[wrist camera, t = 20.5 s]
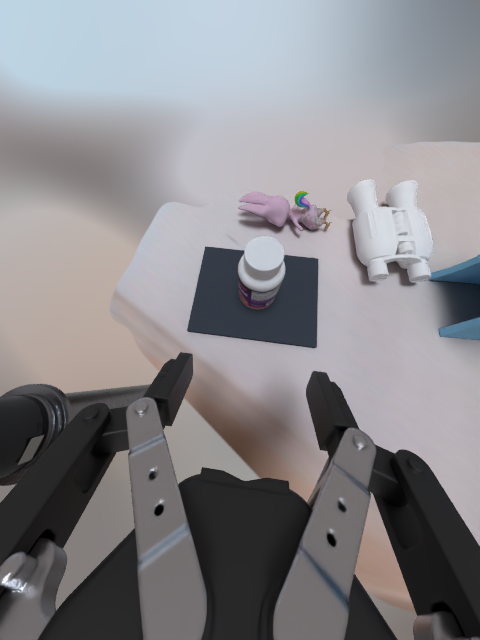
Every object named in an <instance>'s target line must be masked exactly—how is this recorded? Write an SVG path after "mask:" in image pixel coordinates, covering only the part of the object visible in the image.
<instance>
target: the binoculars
mask: <svg viewBox="0 0 480 640" xmlns="http://www.w3.org/2000/svg"><path fill="white" fill-rule="evenodd" d="M375 190H376V184H375V182H374V181H373V180H370V179H368V180H363V181H361V182H359V183H357V184H356V185H354V186H353V187H352V188H351V189H350V191H349V193H348V195H347V200H348V202H349V203H350V204H351V206H352V208H353V211H354V213H355V215H356V218H355V219H354V221H353V223H352V226H353V232H354V239H355V245H356V251H357V257H358V259H359V260H360V262H361V263H362V264H364V265H365V266H366V267H368V269H367V272H368V276H369V280H370V281H380V280H383V279H386V278H387V277H388V276H389V274H388V270H387V264H386V263H389V262H393V261H397V263H398V264H399V265H400V266H401V268H404V269H408V270H407V273H408V276H409V281H410V282H412V283H416V282H422V281H425V280H427V279H429V278H431V272H430V269H429V265H428V264H427V261H428V260H429V259H430V257H431V255H432V253H433V247H434V245H433V242H432V240H433V239H432V235H431V232H430V229H429V225H428V222H427V219H426V215H425V214H424V212H423V210H421V209H419V208H417V195H416V193H417V190H418V185H417V183H416V182H415V181H413V180H407V181H403V182H401V183H399V184H397V185H395V186H394V187H392V188H391V189H390V190H389V191H388V193H387V195H386V202H387V204H388V205H389V207H378V204H377V199H376V193H375Z"/></svg>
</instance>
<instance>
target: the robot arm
mask: <svg viewBox="0 0 480 640" xmlns="http://www.w3.org/2000/svg"><path fill="white" fill-rule="evenodd" d="M192 376H193V356H192V354H189V353H182V352H181V353H180V354H179V355H178V357H177V359H176V360H175V359H171V360H169V361H168V362H167V363H165V364H164V366H163V367H162V369H161V371H160V372H159V373H158V375H157V377H156V378H155V379H154V381H153V382H152V384H151V385H150V387H149V388H148V390H147V391H146V393H145V395H144V396H143V397H142V398H140V399H137V400H135V401H134V402H133V403H131V404H130V406H127V407H122V408H115V409H109V408H108V406H107V405H106V404H103V403H96V404H92V405H89V406H87V407H86V408H84V409H82V410H81V411H80V412H79V413H78V414H77V415H76V416H75V417H74V418H73V420H72V421H71V422H70V423H69V424H68V425H67V427H66V428H65V429H64V430H63V431H62V432H61V433H60V435H59V436H58V437H57V438H56V439H55V440H54V442H53V443H52V444H51V445H50V446H49V447H48V445H49V443H50V441H51V439H52V436H53V433H54V428H55V415H54V411H53V408H52V406H51V405H50V403H49V402H48V401H47V400H46V399H45V398H43V397H41V396H39V395H36V394H22V395H16V396H9V397H0V479H1V478H4V477H6V476H9V475H12V474H15V473H17V472H20V471H22V470H24V469H26V468H28V467H29V466H31V465H32V464H33V463H34V462H35V464H34V465H33V466H32V467H31V468H30V469H29V471H28V472H27V473H26V474H25V475H24V476H23V477H22V479H21V480H20V481H19V482H18V483H17V485H16V486H15V487H14V488H13V489H12V490H11V491H10V493H9V494H8V495H7V496H6V497H5V498H4V500H3V501H2V502H1V503H0V640H397V638H396V637H395V635H394V633H393V632H392V630H391V629H390V628H389V626H388V624H387V623H386V621H385V620H384V618H383V617H382V615H381V614H380V612H379V611H378V609H377V607H376V606H375V605H374V603H373V601H372V600H371V598H370V597H369V595H368V594H367V592H366V591H365V589H364V588H363V586H362V584H361V583H360V581H359V580H358V578H357V577H356V575H355V574H354V571H355V567H356V562H357V558H358V553H359V549H360V544H361V539H362V535H363V530H364V526H365V521H366V517H367V512H368V507H369V503H370V497H371V494H370V492H371V493H373V495H374V498H375V501H376V503H377V506H378V509H379V512H380V514H381V517H382V520H383V523H384V525H385V528H386V531H387V534H388V536H389V539H390V542H391V545H392V547H393V550H394V553H395V556H396V558H397V561H398V564H399V567H400V569H401V572H402V575H403V578H404V581H405V583H406V586H407V589H408V592H409V594H410V597H411V600H412V603H413V605H414V608H415V611H416V614H417V617H416V619H415V621H414V625H413V632H414V633H413V634H414V640H480V546H479V545H478V543H477V542H476V540H475V538H474V537H473V535H472V534H471V532H470V530H469V529H468V527H467V526H466V524H465V523H464V521H463V519H462V518H461V516H460V515H459V513H458V511H457V510H456V508H455V507H454V505H453V503H452V502H451V500H450V499H449V497H448V496H447V494H446V492H445V491H444V489H443V488H442V486H441V484H440V483H439V481H438V480H437V478H436V477H435V475H434V473H433V472H432V470H431V469H430V467H429V466H428V465H427V464H426V463H425V462H424V461H423V460H422V459H421V458H420V457H419V456H417V455H416V454H414V453H412V452H410V451H407V450H399V451H397V452H396V453H395V454H394V453H392V452H390V451H388V450H385V449H383V448H381V447H379V446H377V445H375V444H374V442H373V441H372V440H371V438H370V437H369V436H368V435H367V434H366V433H364V432H363V431H361V430H360V429H359V427H358V425H357V423H356V421H355V419H354V417H353V415H352V412H351V410H350V408H349V406H348V405H347V402H346V400H345V398H344V395H343V393H342V391H341V389H340V388H339V387H338V386H337V385H336V384H335V382H330V380H329V377H328V375H327V373H324V372H317V371H313V372H312V375H311V377H310V380H309V383H308V385H307V388H306V397H307V401H308V405H309V409H310V413H311V417H312V421H313V424H314V428H315V432H316V436H317V440H318V444H319V448H320V450H324V451H328V455H329V457H328V459H327V461H326V463H325V466H324V468H323V470H322V472H321V475H320V477H319V479H318V481H317V483H316V486H315V488H314V490H313V492H312V494H311V496H310V497H309V499H308V501H307V502H306V501H305V500H304V499H303V498H302V497H300V496H299V495H298V494H297V493H295V492H294V491H292V490H290V489H289V482H288V481H284V480H278V479H272V478H263V479H257V480H251V481H243V480H240V479H239V478H236V477H234V476H233V475H231V474H229V473H226V472H225V471H221V470H215V469H210V468H203V467H202V470H201V474H198V475H194V476H191V477H189V478H187V479H185V480H184V481H182V482H181V483H179V484H178V483H177V479H176V475H175V472H174V467H173V464H172V460H171V456H170V452H169V449H168V444H167V441H166V437H165V435H164V431H163V429H164V428H165V425H166V426H172V424H173V421H174V419H175V417H176V414H177V412H178V409H179V407H180V405H181V403H182V400H183V398H184V396H185V393H186V391H187V389H188V386H189V384H190V382H191V379H192ZM47 447H48V449H47ZM46 449H47V450H46ZM129 449H130V452H129V454H128V459H129V471H130V481H131V492H132V503H133V513H134V523H135V528H134V529H133V530H132V532H131V533H130V534H129V535H128V536H127V537H126V538H125V539H124V540H123V541H122V542H121V543H120V544H119V545H118V546H117V547H116V548H115V549H114V550H113V551H112V552H111V553H110V554H109V555H108V556H107V557H106V558H105V559H104V560H103V561H102V562H101V563H100V564H99V565H98V566H97V568H95V569H94V571H93V572H92V573H91V574H90V575H89V576H88V577H87V578H86V579H85V580H84V581H83V582H82V583H81V584H80V585H79V586H78V587H77V588H76V589H75V590H74V591H73V592H72V593H71V594H70V595H69V596H68V597H67V598H66V600H65V601H64V602H63V603H62V605H61V606H60V607H59V608H58V609H57V611H56V608H55V601H56V594H57V590H58V587H59V584H60V582H61V579H62V577H63V575H64V572H65V569H66V564H67V556H66V553H65V551H64V550H63V547H64V545H65V544H66V542H67V540H68V538H69V537H70V535H71V533H72V531H73V529H74V527H75V526H76V524H77V522H78V520H79V519H80V517H81V515H82V513H83V512H84V510H85V508H86V506H87V504H88V503H89V500H90V499H91V497H92V495H93V494H94V492H95V490H96V488H97V486H98V484H99V483H100V481H101V479H102V477H103V476H104V474H105V472H106V470H107V468H108V467H109V465H110V463H111V461H112V459H113V457H114V456H115V454H116V452H119V451H124V450H129ZM45 450H46V451H45ZM44 451H45V452H44Z"/></svg>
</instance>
